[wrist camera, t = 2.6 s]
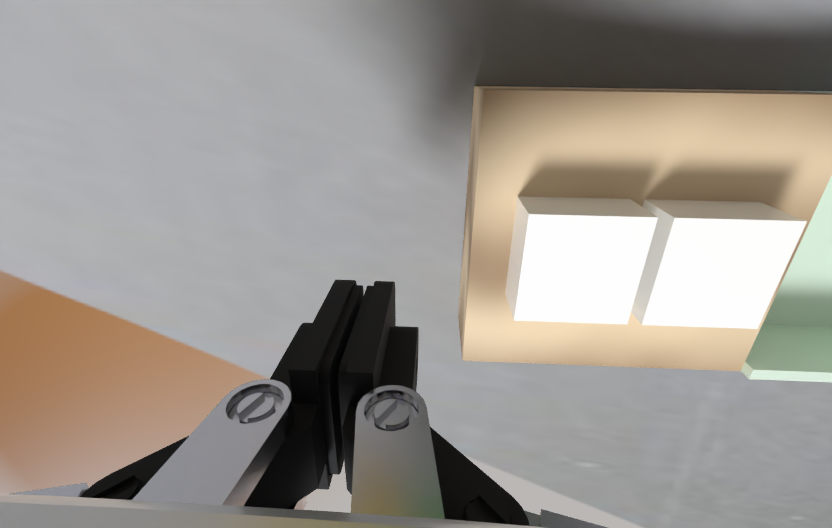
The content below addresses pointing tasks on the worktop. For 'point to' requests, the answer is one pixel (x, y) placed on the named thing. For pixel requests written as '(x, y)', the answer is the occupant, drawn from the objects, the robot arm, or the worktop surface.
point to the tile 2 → (714, 263)
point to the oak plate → (627, 179)
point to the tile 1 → (577, 259)
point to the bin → (800, 310)
